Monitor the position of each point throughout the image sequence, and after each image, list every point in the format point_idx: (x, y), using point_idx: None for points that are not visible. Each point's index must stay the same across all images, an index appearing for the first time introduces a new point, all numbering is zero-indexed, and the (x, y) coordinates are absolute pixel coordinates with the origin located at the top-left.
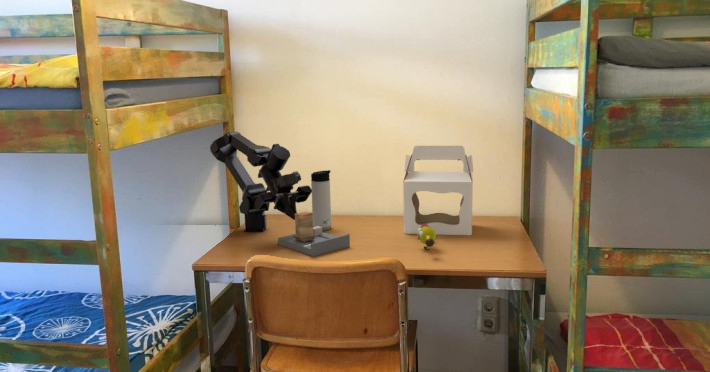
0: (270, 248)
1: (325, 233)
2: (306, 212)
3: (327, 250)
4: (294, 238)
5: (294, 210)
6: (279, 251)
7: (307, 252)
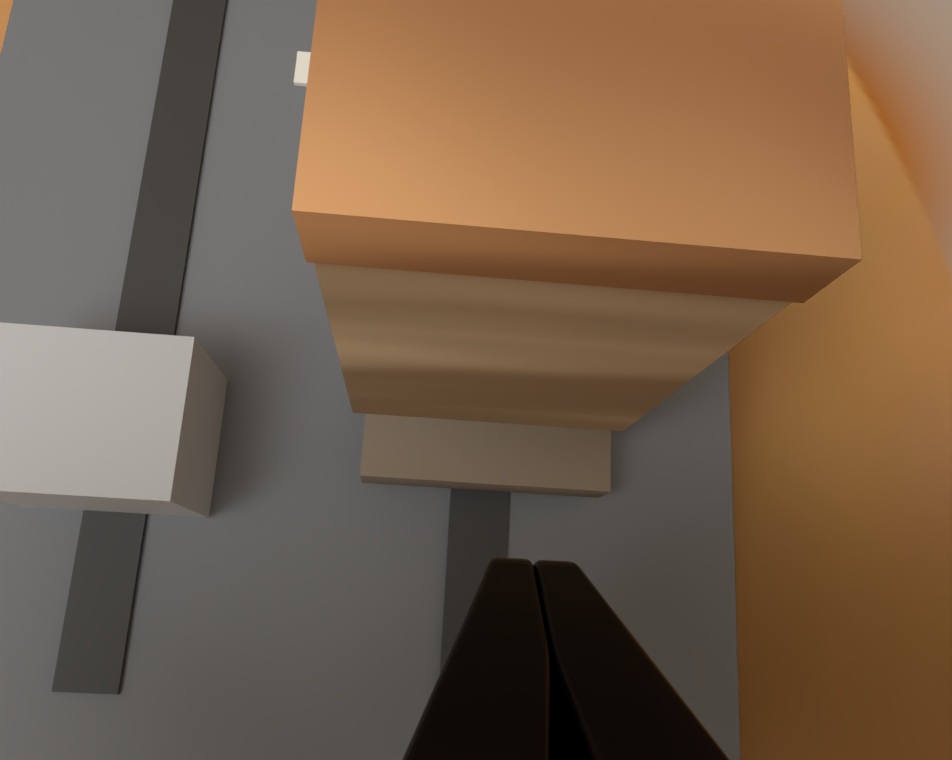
0: (907, 711)
1: None
2: (432, 77)
3: None
4: None
5: (514, 757)
6: (879, 474)
7: None
